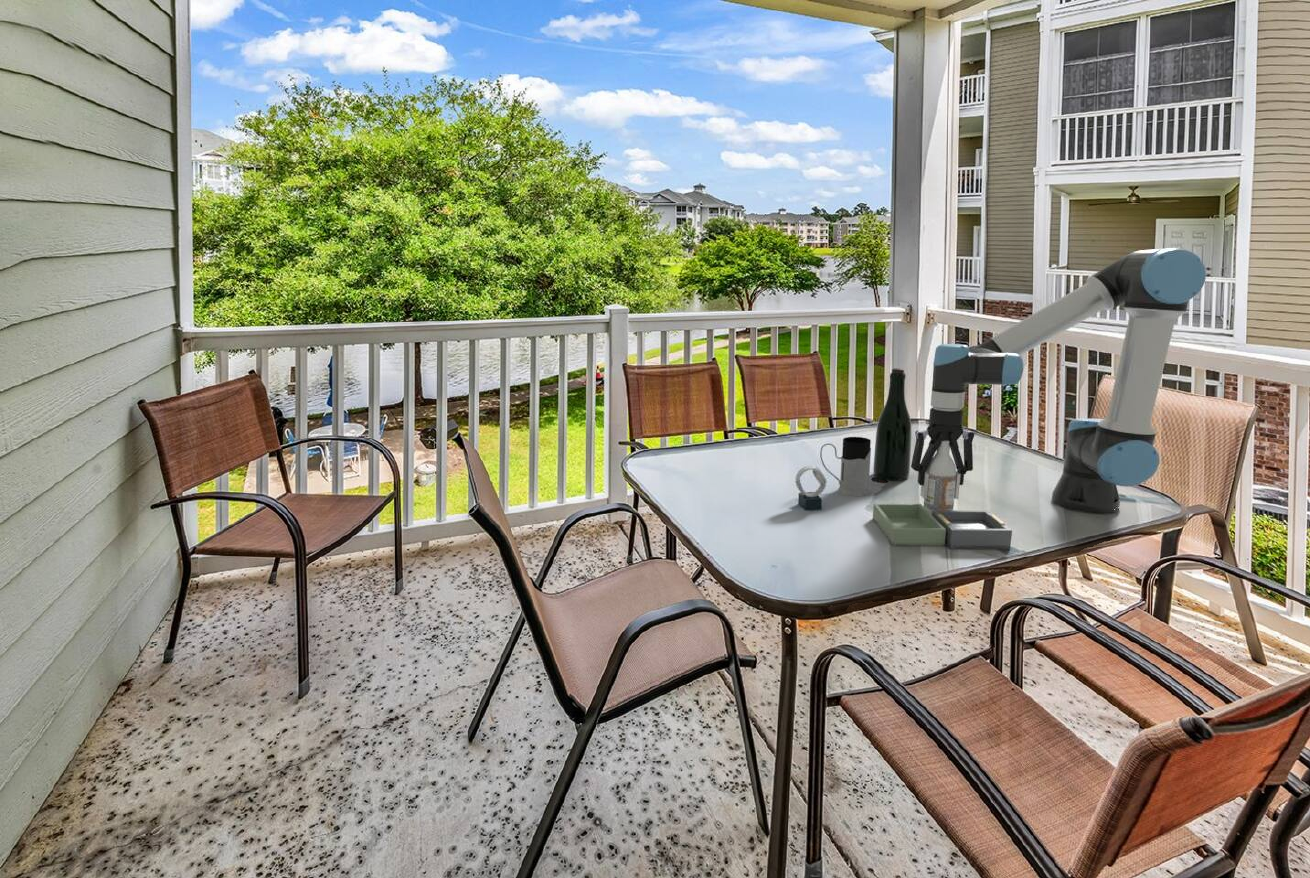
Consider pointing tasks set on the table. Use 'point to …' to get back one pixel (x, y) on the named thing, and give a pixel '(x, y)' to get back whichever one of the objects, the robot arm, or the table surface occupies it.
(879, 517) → the green tray
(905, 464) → the wine bottle
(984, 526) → the plate
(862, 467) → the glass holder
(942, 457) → the bath foam
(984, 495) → the table surface
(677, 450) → the table surface
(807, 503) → the watch
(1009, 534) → the gray square tray
